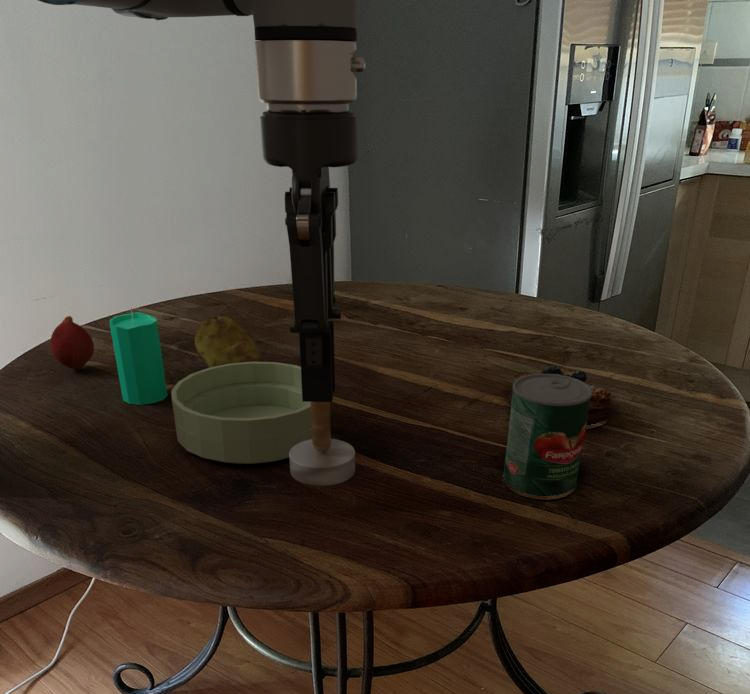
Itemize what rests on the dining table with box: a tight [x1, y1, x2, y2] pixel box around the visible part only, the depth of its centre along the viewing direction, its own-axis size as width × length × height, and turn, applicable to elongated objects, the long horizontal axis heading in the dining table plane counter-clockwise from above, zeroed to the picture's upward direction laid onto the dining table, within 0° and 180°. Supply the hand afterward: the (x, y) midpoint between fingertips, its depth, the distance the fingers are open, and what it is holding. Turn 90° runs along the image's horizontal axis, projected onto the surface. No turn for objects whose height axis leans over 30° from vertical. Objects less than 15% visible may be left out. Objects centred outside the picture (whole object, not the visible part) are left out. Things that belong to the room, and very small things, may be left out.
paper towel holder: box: [288, 402, 356, 487], centre depth 68 cm, size 6×6×16 cm
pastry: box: [507, 365, 612, 425], centre depth 94 cm, size 11×12×6 cm
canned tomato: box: [502, 373, 592, 496], centre depth 77 cm, size 8×8×11 cm
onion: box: [49, 315, 95, 371], centre depth 106 cm, size 6×6×8 cm
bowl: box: [170, 361, 312, 465], centre depth 88 cm, size 18×18×6 cm
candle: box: [109, 307, 168, 406], centre depth 96 cm, size 6×6×12 cm
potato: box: [194, 314, 265, 368], centre depth 104 cm, size 8×13×8 cm, turn 22°
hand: (319, 394), depth 68 cm, fingers closed on paper towel holder, 2 cm apart
